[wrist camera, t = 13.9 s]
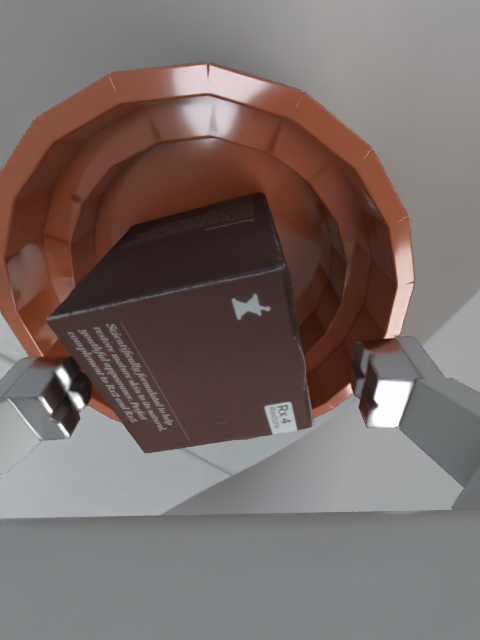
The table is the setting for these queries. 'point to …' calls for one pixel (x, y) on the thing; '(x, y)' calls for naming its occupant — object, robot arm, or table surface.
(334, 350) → the clay bowl
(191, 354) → the box
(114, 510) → the table surface
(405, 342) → the robot arm
